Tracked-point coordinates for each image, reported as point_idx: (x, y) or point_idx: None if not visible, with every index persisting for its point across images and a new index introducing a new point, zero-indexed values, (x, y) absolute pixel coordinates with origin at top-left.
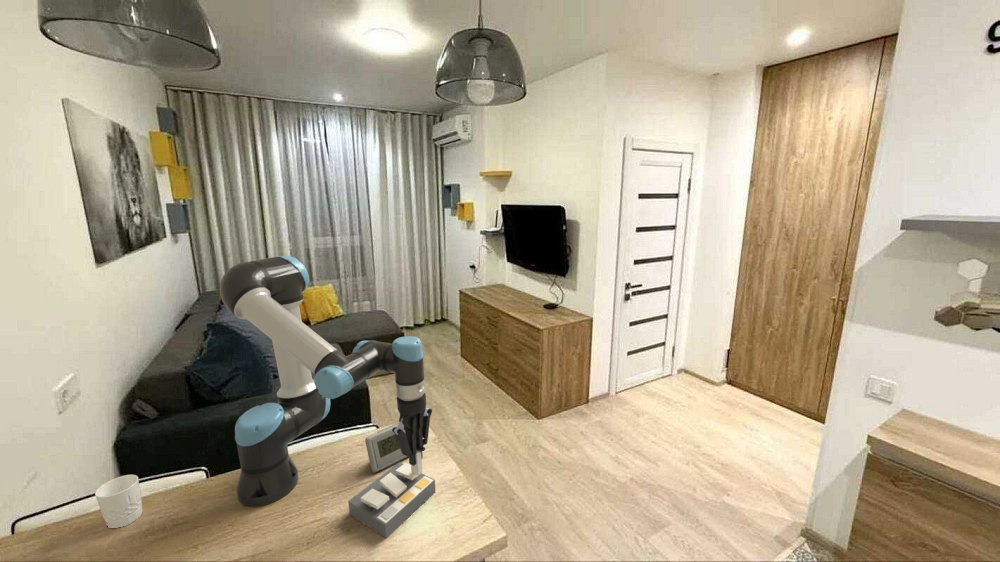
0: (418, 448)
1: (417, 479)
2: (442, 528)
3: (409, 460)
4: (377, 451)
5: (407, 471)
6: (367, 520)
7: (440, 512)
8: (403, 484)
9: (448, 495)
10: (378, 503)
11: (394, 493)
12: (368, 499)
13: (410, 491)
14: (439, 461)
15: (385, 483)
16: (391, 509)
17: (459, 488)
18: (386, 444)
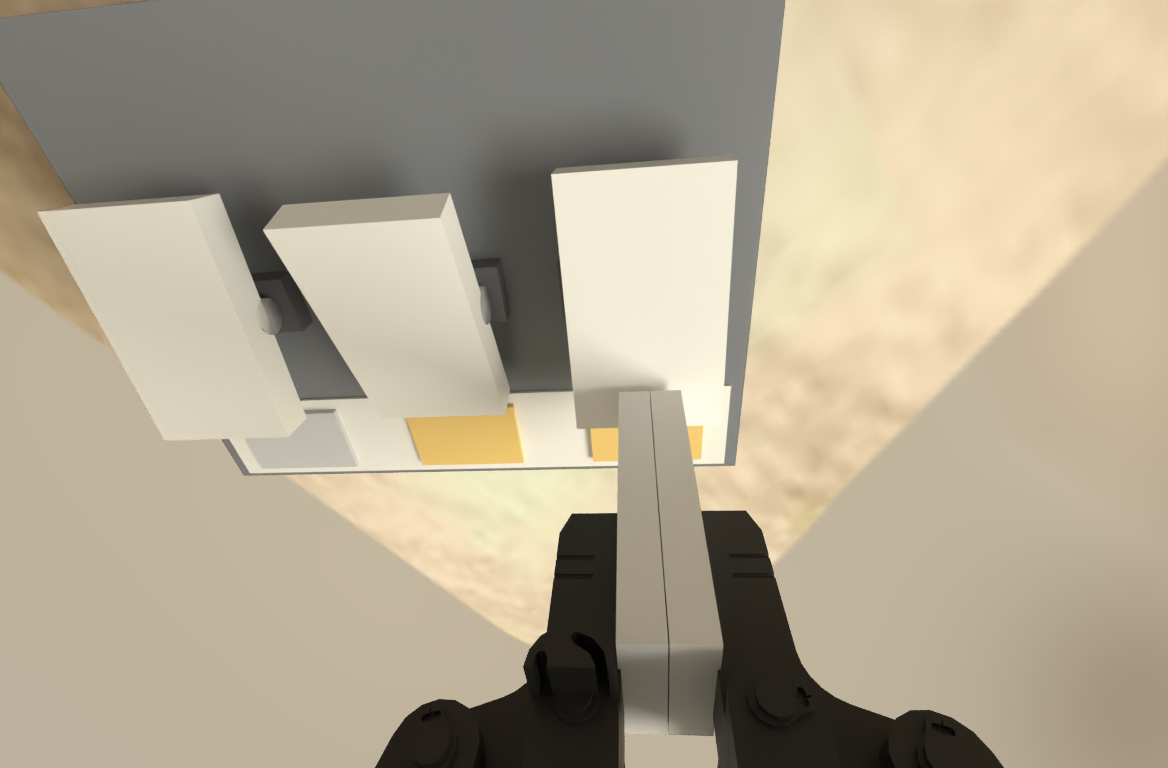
0: (720, 759)
1: None
2: (544, 551)
3: (554, 579)
4: None
5: (615, 328)
6: None
7: (608, 500)
8: (488, 391)
9: (735, 466)
10: (182, 428)
11: (373, 400)
12: (111, 312)
13: (524, 412)
14: (1085, 182)
15: (322, 294)
16: (317, 436)
17: (819, 480)
18: None
